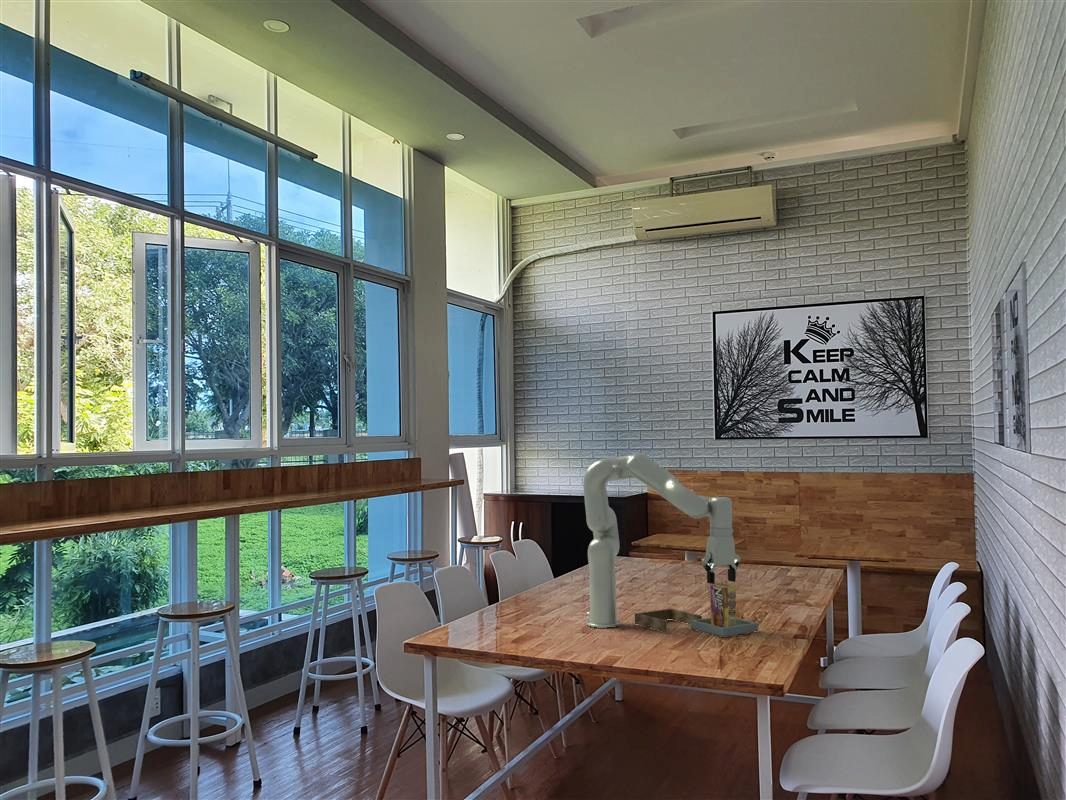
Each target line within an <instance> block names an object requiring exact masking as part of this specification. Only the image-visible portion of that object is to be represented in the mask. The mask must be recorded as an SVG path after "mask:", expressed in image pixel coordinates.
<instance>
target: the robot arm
mask: <svg viewBox="0 0 1066 800" xmlns="http://www.w3.org/2000/svg"><path fill="white" fill-rule="evenodd" d="M633 478H635V479H636V480H638V481H640V482H641V483H643V484H644V485H646V486H647V487H649V488H650V490H652V491H654V492H655V493H657V494H658V495H660V496H661V498H664V499H665V500H666V501H668V502H669V503H670V504H672V505H673V506H674V507H676V508H678V509H679V510H680V511H681V512H683V513H685V514H686V515H688V516H689V517H690V518H693V519H702V518H704V517H709V536H708V537H707V540H706V548H705V556H704V557H703V558H701V560H700V561H701V564H702V566H703V569H704V571H706V583H707V584H710V583H711V584H714V583H715V582H716V580H715V579H716V578H715V572H714V571H715V568H717V567H725V566H727V567H728V569H727V581H729V582H733V583H735V582H736V581H737V580H736V575H737V573H736V571H737V570H738V567H739V565H740V561H741V559H742V558H741V556H740V555H739V554H737V553H736V549H735V548H736V545H735V541H734V540H735V539H734V536H733V532H734V529H733V503H732V502H733V500H732V499H731V498H730V497H728V496H727V497H726V496H713V497H711V496H705V495H698V494H696V493H695V492H693V491H691V490H690V489H689V488H687V487H686V486H685V485H683V484H682V483H681V482H680V481H679V480H678V479H677V478H676V477H675V475H674V474H672V473H671V472H670V471H668V470H667V469H665V468H664V467H662V466H660V465H659V464H658V463H656V462H655V461H653V460H652V459H651V457H650V456H649V455H648V454H645V453H642V452H638V453H637V452H636V453H633V454H631V455H630V454H629V455H625V456H616V457H605V458H604V457H603V458H600V459H599V460H597V461H595V462H593V463H592V464H591V465H590V466H589V467H588V468H587V469H586V471H585V473H584V476H583V484H582V486H583V494H584V495H583V496H584V498H583V499H584V507H585V508H584V509H585V516H586V518H585V520H586V525H587V527H588V529H589V530H590V531H591V532H592V535H593V539H592V540H591V541H590V543H589V545H588V548H587V561H588V570H589V571H588V572H589V573H588V574H589V575H588V576H589V577H588V578H589V611H587V612H586V615H587V616H588V617H589V619H587V620H586V621H585V625H586V626H587V625H588V626H587V627H590V626H591V628H594V627H597V628H596V629H608V628H607V627H613V628H617V627H616V626H618V627H620V626H621V625H622V621H621V620H619V619H618V618H617V614H618V613H617V611H618V610H617V576H616V563H615V559H616V558H615V557H617V555H618V554H619V551H620V538H619V536H620V535H619V529H618V528H619V527H618V521H617V519H618V518H617V516H616V513H615V511H614V510H613V508H612V507H610V506H609V498H608V490H607V483H608V482H613V481H619V480H626V479H633ZM619 625H620V626H619Z"/></svg>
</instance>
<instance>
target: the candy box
mask: <svg viewBox="0 0 1066 800" xmlns="http://www.w3.org/2000/svg"><path fill="white" fill-rule="evenodd" d="M709 585H710V588H709V589H710V591H709V593H710V618H711V625H714V626H718V627H722V628H725V627H731V626H736V618H737V589H736V587H737V586H736V585H734V584H728V583H723V582H717V581H715V583H714V584H711V583H709Z"/></svg>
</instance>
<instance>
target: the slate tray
mask: <svg viewBox="0 0 1066 800" xmlns="http://www.w3.org/2000/svg"><path fill="white" fill-rule="evenodd" d="M692 629H695V630H694V631H696V630H698V631H697V632H699V631H702V632H701V633H703V632H706V633H705V634H707V633H709V634H708V635H711V634H713V635H712V636H714V635H717V636H716V637H718V636H721V637H720V638H722V637H725V638H727V637H726V636H731V637H733V636H732V635H737V636H739V635H738V634H743V633H748V632H754V631H758V632H759V623H758V622H755V621H751V620H748V619H747V620H746V619H741V618H737V617H736V626H731V627H725V628H722V627H718V626H714V625H711V617H705V618H702V619H698V620H691V625H690V630H692ZM743 635H744V634H743Z"/></svg>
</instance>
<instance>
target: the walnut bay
mask: <svg viewBox="0 0 1066 800" xmlns="http://www.w3.org/2000/svg"><path fill="white" fill-rule="evenodd" d="M702 617H703V615H700V614H697V613H691V612H689V611H683V610H679V609H676V608H671V607H670V608H665V609H657V610H650V611H643V612H636V613H635V612H634V625H635V624H639V625H642V626H645V627H648V628H652V629H655V630H659V631H662V632H667V628H668V627H667V621H665V620H667V619H673V620H677V621H680V622H684V623H688V624H691V620H698V619H703V618H702ZM673 620H672V621H673ZM677 621H676V622H677ZM680 622H679V623H680ZM684 623H683V624H684ZM688 624H687V625H688ZM645 627H644V628H645ZM648 628H647V629H648ZM652 629H651V630H652ZM655 630H654V631H655ZM659 631H658V632H659ZM662 632H661V633H662Z"/></svg>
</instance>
